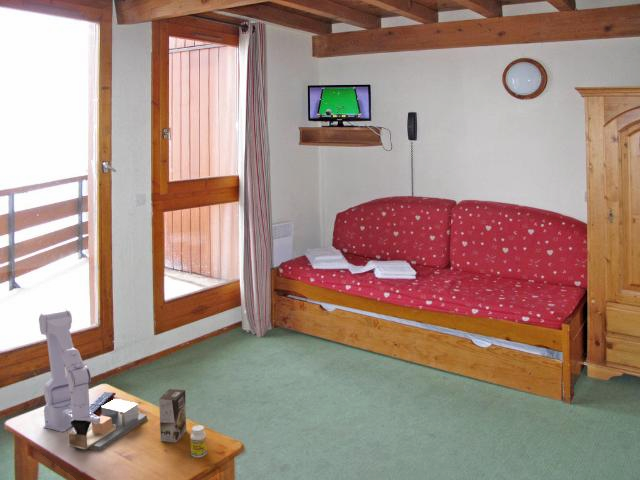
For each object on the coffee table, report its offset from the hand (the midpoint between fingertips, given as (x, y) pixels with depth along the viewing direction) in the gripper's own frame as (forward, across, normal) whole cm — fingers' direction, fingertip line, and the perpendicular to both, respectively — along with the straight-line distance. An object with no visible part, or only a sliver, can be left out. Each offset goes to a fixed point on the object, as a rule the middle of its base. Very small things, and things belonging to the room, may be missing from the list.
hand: (82, 438), depth 224 cm
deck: (+3, 0, -14) cm, 14 cm away
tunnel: (+2, 0, -19) cm, 20 cm away
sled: (+2, 0, -5) cm, 5 cm away
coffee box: (+4, -24, -20) cm, 31 cm away
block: (+1, 0, -10) cm, 10 cm away
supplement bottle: (+4, -38, -13) cm, 41 cm away
